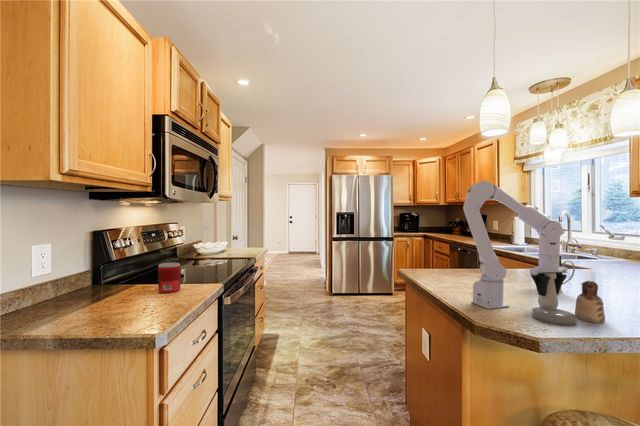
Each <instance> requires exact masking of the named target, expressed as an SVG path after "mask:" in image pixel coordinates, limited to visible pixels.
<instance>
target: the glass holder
mask: <svg viewBox="0 0 640 426" xmlns="http://www.w3.org/2000/svg"><path fill="white" fill-rule="evenodd" d="M566 263H570V264H571V265H572V272H571V275H570V277H569V279H567V280H565V281H563V283H562V285H561V287H560V290H559V293H558V294H562V293H563V290H562V286H563V285H565V284H567V283H568V282H569V281H571V280H572V278H573V277H574V275H575V271H576V270H575V269H576V268H575V267H576V266H575V263H574V262H573V261H571V260H565V261H564V262H563V263H562V255H561V254H560V255H559V267H565V264H566Z"/></svg>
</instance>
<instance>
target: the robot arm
mask: <svg viewBox="0 0 640 426" xmlns="http://www.w3.org/2000/svg"><path fill="white" fill-rule="evenodd" d="M487 200H489V201H497V202H499V203H501V204H502V205H504V206H505V207H508V208H509V209H510V210H512V211H513V212H515V213H516V214H517V216H518V219H519V220H520V221H522V222H523V223H525V224H527V225H528V226H529V227H531V228H532V229H534V230H535V231H536V232H537V234H538V235H539V239H538V266H537V267H533V268H529V275H530V277H531V279H532V281H533V282H534V284H535V287H536V290H537V293H538V296H539V295H541V296H546V292H547V285H548V282H549V279H550V277H548V276H546V275H545V273H547V272H555V273H556V279H554V282H555V288H556V293H557V296H558V295H559V294H560V293H559V290H560V287H561V288H562V286H563V285H562V283H564V282H565V281H566V279H567V277H568V275H567V273H568V267H565V266H564V267H562V266H561V267H559V255H561V253H560V251H561V249H560V248H561V245H560V243H561V241H560V240H561V238H560V237H561V236H562V235H563V234H564V231H565V229H564V228H563V226H562V224H561V223H560V222H558V221H557V220H553V219H552V220H551V218H552V216H550V215H546V214H544V213H543V212H541V211H540V210H539V209H540V208H539V207H537V206H532V205H526V206H525V205H524V204H523V203H522V202H520V201H518V200H517V199H515V197H513V196H512V195H510V194H509V193H508V192H506V191H505V190H503V189H502V188H501V187H499V186H498V185H495V184H493V183H492V182H491V181H488V180H481V181H480V180H479V181H478V182H475V183H473V184H472V185H471V186H470V187H469V188H468V189H467V191H466V196H465V200H464V203H463V206H462V210H463V212H464V216H465V219H466V221H467V224H468V226H469V230H470V233H471V235H472V238H473V241H474V243H475V247H476V249H477V252H478V259H479V270H480V272H481V275H480V279H478V280H476V281H475V282H474V283H473V286H472V300H471V301H470V302H471V303H473V304H474V305H477V306H480V307H482V308H484V309H499V308H508V307H510V305H509V304H507V303H505V302H504V285H505V284H504V281H505V280H504V278H505V277H506V273H507V271H506V268H505V267H504V266H503V265H502V264H501V262H500V260H499V258H498V256H497V254H496V253H495V250H494V247H493V244H492V242H491V240H490V236H489V234H488V231H487V228H486V225H485V222H484V220H483V217H482V214H481V211H480V209H481V208H482V206H483V205H484V203H485V202H486V201H487Z"/></svg>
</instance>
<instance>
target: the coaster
mask: <svg viewBox="0 0 640 426" xmlns="http://www.w3.org/2000/svg"><path fill="white" fill-rule="evenodd" d="M531 311H532V312H531V314H532V315H531V316H532V318H534V319H535V320H537V321H540V322H543V323H546V324H549V325H550V324H551V325H556V326H564V327H565V326H567V327H571V326H575V325H577V317H576V315H575V313H572V312H570V311H567V310H564V309H560V308H559V309H558V308H556V309H555V308H547V307H540V306H537V307H533V308H532V310H531Z"/></svg>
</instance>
